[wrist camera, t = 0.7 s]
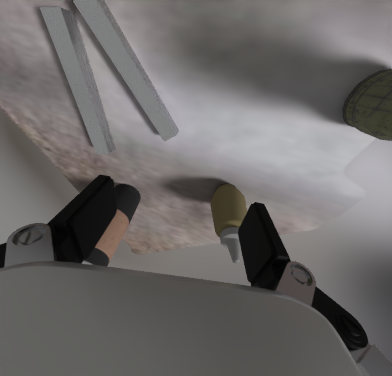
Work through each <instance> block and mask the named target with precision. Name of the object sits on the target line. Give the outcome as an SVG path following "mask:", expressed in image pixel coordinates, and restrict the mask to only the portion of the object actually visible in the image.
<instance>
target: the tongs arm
mask: <svg viewBox="0 0 392 376" xmlns="http://www.w3.org/2000/svg"><path fill="white" fill-rule="evenodd" d="M73 2H74V4H75V5H76V7H77V8H78V10H79V11H80V13H81V14H82V16H83V17H84V19H85V21H86V22H87V24H88V25H89V27H90V28H91V30H92V31H93V33H94V34H95V36H96V37H97V39H98V40H99V42H100V44H101V45H102V47H103V48H104V50H105V51H106V53H107V54H108V56H109V57H110V59H111V60H112V62H113V63H114V65H115V67H116V68H117V70H118V71H119V73H120V74H121V76H122V77H123V79H124V80H125V82H126V83H127V85H128V86H129V88H130V90H131V91H132V93H133V94H134V96H135V97H136V99H137V100H138V102H139V103H140V105H141V106H142V108H143V110H144V111H145V113H146V114H147V116H148V117H149V119H150V120H151V122H152V123H153V125H154V126H155V128H156V129H157V131H158V133H159V134H160V136H161V137H162V139H163V140H164V141H166V140H168V139H170V138H172V137H174V136H176V135H177V133H178V131H179V130H178V128H177V126H176V124H175V123H174V121H173V119H172V117H171V116H170V114H169V112H168V110H167V109H166V107H165V105H164V104H163V102H162V100H161V98H160V97H159V95H158V93H157V91H156V90H155V88H154V86H153V84H152V83H151V81H150V79H149V78H148V76H147V74H146V72H145V71H144V69H143V67H142V65H141V64H140V62H139V60H138V58H137V57H136V55H135V53H134V52H133V50H132V48H131V46H130V45H129V43H128V41H127V39H126V38H125V36H124V34H123V32H122V31H121V29H120V27H119V26H118V24H117V22H116V20H115V19H114V17H113V15H112V13H111V12H110V10H109V8H108V6H107V5H106V3H105V1H104V0H74V1H73Z"/></svg>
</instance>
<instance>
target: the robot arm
mask: <svg viewBox="0 0 392 376" xmlns="http://www.w3.org/2000/svg"><path fill="white" fill-rule="evenodd" d="M116 212H117V206H116V198H115V189H114V181H113V179H111V177H110V176H105V175H99V176H98V177H97V178H96V179H94V180H93V181H92V182H91V183H90V184H89V185H88V186H87V187H86V188H85V189H84V190H83V191H82V192H81V193H80V194H78V195H77V196H76V197H75V198H74V199H73V200H72V201H71V202H70V203H69V204H68V205H67V206H66V207H65V208H64V209H62V211H60V212H59V213H58V214H57V215H56V216H55V217H54V218H53V219H52V220H51V221H50V222H49V223H48V224H43V223H34V224H29V225H26V226H24V227H21V228H19V229H17V230H16V231H15V232H13V233H12V234H11V235H10V236H9V238H8V240H7V243H4V244H1V245H0V376H392V363H391V362H390V361H389V360H388V359H387V358H386V356H385V355H384V354H383V353H382V352H381V351H380V350H379V349H378V348H377V347H376V346H375V345H374V344H372V345H370V344H369V342H368V339H367V335H366V333H365V331H364V329H363V328H362V326H361V325H360V323H359V322H358V321H357V320H356V319H355V318H354V317H353V316H352V315H351V314H350V313H349V312H347V311H346V310H345V309H344V308H342V307H341V306H340V305H339V304H337V303H336V302H335V301H334V300H332V299H331V298H330V297H328V296H327V295H326V294H324V292H322V291H321V290H320V289H319V288H317V287H316V281H315V278H314V276H313V274H312V273H311V272H310V271H309V269H308V268H306V267H305V266H304V265H302V264H301V263H298V262H294V261H291V260H290V258H289V256H288V253H287V251H286V249H285V247H284V245H283V243H282V241H281V239H280V237H279V234H278V232H277V230H276V228H275V226H274V224H273V222H272V220H271V217H270V215H269V213H268V211H267V209H266V207H265V205H264V204H263V203H257V202H255V203H254V204H251V205H250V207H249V209H248V211H247V213H246V215H245V217H244V219H243V221H242V223H241V225H240V227H239V229H238V237H239V242H240V246H241V251H242V256H243V260H244V265H245V269H246V274H247V278H248V281H249V282H251V286H245V285H238V284H231V283H224V282H217V281H210V280H203V279H196V278H189V277H182V276H181V277H180V276H174V275H167V274H160V273H152V272H144V271H137V270H129V269H121V268H114V267H107V266H99V265H90V264H82V262H83V260H84V259H87V258H88V257H89V256H90V254H91V253H92V251H93V249H94V248H95V246H96V245H97V243H98V242H99V240H100V238H101V237H102V235H103V234H104V232H105V231H106V229H107V227H108V226H109V224H110V223H111V221H112V220H113V218H114V216H115V215H116Z"/></svg>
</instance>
